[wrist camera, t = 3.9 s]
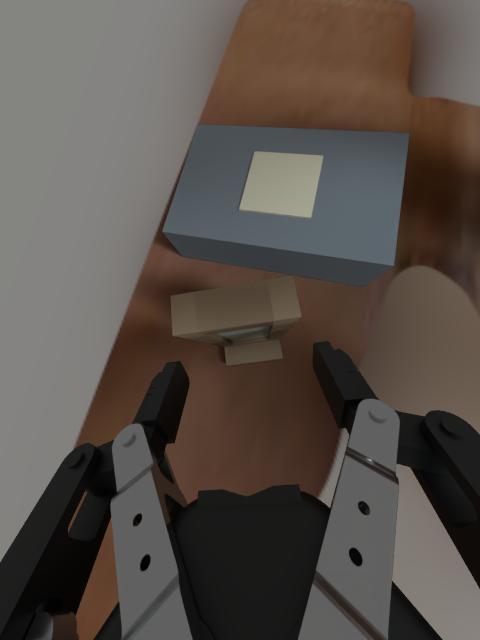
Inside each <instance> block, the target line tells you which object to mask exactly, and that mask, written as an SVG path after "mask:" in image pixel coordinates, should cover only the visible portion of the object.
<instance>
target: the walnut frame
mask: <svg viewBox="0 0 480 640" xmlns="http://www.w3.org/2000/svg"><path fill="white" fill-rule="evenodd" d="M170 297H171V315H172V333H173V336H176V337H180V338H185V339H190V340H194V341H199V342H204V343H208V344H213V345H217V346H222V347H224V349H225V358H226V366H229V365H236V364H244V363H252V362H260V361H268V360H276V359H283V355H282V349H281V343H280V339H281V338H282V337H283V336H284V334H285V333H286V332H287V331H288V330H289V329H290V328H291V327H292V326H293V325H294V324H295V323H296V322H297V321H298V320H299V319H300V318H301V317H302V316H301V311H300V306H299V301H298V296H297V291H296V286H295V281H294V276H293V275H290V276H284V277H278V278H272V279H267V280H261V281H255V282H249V283H243V284H237V285H231V286H225V287H219V288H214V289H208V290H202V291H196V292H190V293H184V294H178V295H172V296H170Z"/></svg>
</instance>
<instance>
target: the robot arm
mask: <svg viewBox="0 0 480 640" xmlns="http://www.w3.org/2000/svg"><path fill="white" fill-rule="evenodd" d="M313 368H314V371H315V374H316V376H317V379H318V381H319V383H320V386H321V388H322V390H323V393H324V395H325V397H326V400H327V402H328V404H329V407H330V409H331V411H332V414H333V416H334V418H335V421H336V423H337V425H338V428H339V429H341V428H346V429H347V431H348V433H349V435H350V436H349V440H348V443H347V447H346V451H345V455H344V459H343V462H342V466H341V470H340V474H339V478H338V481H337V485H336V488H335V492H334V496H333V500H332V503H331V507H330V508H329V507H328V506H327V505H326V504H324V503H323V502H322V501H320V500H319V499H317V498H316V497H314V496H312V495H310V494H308V493H305V492H302V491H300V488H299V484H296V485H281V486H272V487H270V488H267V489H265V490H263V491H260V492H258V493H256V494H253V495H251V496H243V495H239V494H236V493H233V492H229V491H226V490H223V489H221V490H205V491H199V492H198V499H196V500H194V501H193V502H191V503H189V504H187V501H186V499H185V497H184V495H183V494H182V492H181V490H180V489H179V487H178V484H177V482H176V479H175V476H174V473H173V471H172V468H171V465H170V462H169V460H168V457H167V454H166V452H165V448H166V444H170V443H175V439H176V435H177V431H178V428H179V424H180V420H181V416H182V412H183V408H184V405H185V401H186V397H187V393H188V389H189V377H188V375H187V373H186V371H185V369H184V367H183V365H182V363H181V362H180V361H176V362H169V363H166V365H165V367H164V369H163V371H162V372H159V373H158V374H157V375H156V377H155V378H154V379H153V380H152V382H151V384H150V387H149V390H148V391H147V393H146V396H145V397H144V399H143V402H142V404H141V406H140V408H139V410H138V412H137V414H136V417H135V419H134V421H133V423H132V424H131V425H129V426H127V427H125V428H124V429H123V430H122V431H121V432H120V433H119V434H118V435H117V436H116V438H115V440H112V441H110V442H108V443H105V444H103V445H101V446H99V447H95V446H94V445H92V444H90V443H86V444H83V445H80V446H78V447H77V448H75V449H74V450H73V451H72V452H71V453H69V455H68V456H67V457H66V458H65V459H64V461H63V462H62V464H61V465H60V467H59V468H58V470H57V472H56V473H55V475H54V477H53V478H52V480H51V481H50V483H49V485H48V486H47V488H46V489H45V491H44V493H43V494H42V496H41V498H40V499H39V501H38V502H37V504H36V506H35V507H34V509H33V511H32V512H31V514H30V515H29V517H28V519H27V520H26V522H25V524H24V525H23V527H22V528H21V530H20V531H19V533H18V535H17V536H16V538H15V540H14V541H13V543H12V545H11V546H10V548H9V549H8V551H7V553H6V554H5V556H4V557H3V559H2V561H1V562H0V640H79V635H78V633H77V620H76V617H75V616H76V613H77V610H78V608H79V605H80V602H81V599H82V596H83V594H84V591H85V588H86V585H87V582H88V580H89V577H90V574H91V571H92V569H93V566H94V563H95V560H96V557H97V555H98V552H99V549H100V546H101V543H102V541H103V538H104V535H105V532H106V530H107V527H108V524H109V521H110V518H112V528H113V539H114V550H115V560H116V571H117V582H118V592H119V602H118V603H117V605H116V606H115V608H114V609H113V611H112V612H111V614H110V615H109V617H108V618H107V620H106V621H105V623H104V625H103V626H102V628H101V629H100V631H99V632H98V634H97V635H96V637H95V638H94V640H442V638H441V637H440V636H439V635H438V634H437V633H436V631H435V630H434V629H433V628H432V627H431V626H430V624H429V623H428V622H427V621H426V620H425V619H424V617H423V616H422V615H421V614H420V613H419V612H418V610H417V609H416V608H415V607H414V606H413V605H412V603H411V602H410V601H409V600H408V599H407V597H406V596H405V595H404V594H403V593H402V592H401V590H400V589H399V588H398V587H397V586H396V585H395V583H393V581H392V572H393V559H394V545H395V532H396V519H397V506H398V493H399V482H398V478H397V477H396V463H397V464H401V465H404V466H408V467H410V468H411V469H412V471H413V473H414V475H415V476H416V478H417V480H418V482H419V483H420V485H421V487H422V489H423V490H424V492H425V494H426V496H427V497H428V499H429V501H430V503H431V504H432V506H433V508H434V510H435V511H436V513H437V515H438V517H439V518H440V520H441V522H442V523H443V525H444V527H445V529H446V530H447V532H448V534H449V536H450V538H451V539H452V541H453V543H454V545H455V546H456V548H457V550H458V552H459V553H460V555H461V557H462V559H463V560H464V562H465V564H466V566H467V567H468V569H469V571H470V572H471V574H472V576H473V577H474V579H475V581H476V582H477V585H478V586H479V588H480V435H479V434H478V432H477V431H476V430H475V429H474V428H473V427H472V426H471V425H470V424H468V423H467V422H466V421H464V420H463V419H461V418H460V417H458V416H456V415H454V414H451V413H448V412H445V411H440V410H435V411H430V412H429V413H427V414H426V416H425V417H424V416H419V415H414V414H408V413H403V412H399V411H396V410H393V409H392V408H391V407H390V406H388V405H387V404H386V403H384V402H382V401H380V400H379V399H378V398H377V397H376V396H375V394H374V393H373V391H372V390H371V388H370V387H369V385H368V384H367V382H366V381H365V379H364V378H363V376H362V375H361V373H360V372H359V371H358V369H357V368H356V366H355V365H354V364H353V362H352V360H351V359H350V357H349V356H348V355H347V354H346V353H344V352H343V351H342V350H340V349H337V350H334V349H333V348H332V346H331V345H330V343H329V342H328V341H326V342H318V343H314V344H313ZM84 492H87V494H86V496H85V499H84V501H83V503H82V505H81V507H80V509H79V511H78V513H77V516H76V518H75V520H74V522H73V524H72V526H71V528H70V531H69V533H68V527H69V524H70V521H71V519H72V517H73V515H74V513H75V511H76V509H77V507H78V505H79V503H80V500H81V498H82V496H83V494H84Z"/></svg>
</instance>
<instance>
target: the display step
mask: <svg viewBox="0 0 480 640" xmlns="http://www.w3.org/2000/svg"><path fill="white" fill-rule="evenodd" d="M409 134H410V133H401V132H377V131H352V130H328V129H303V128H279V127H255V126H230V125H206V124H198V126H197V129H196V132H195V135H194V138H193V141H192V144H191V147H190V150H189V153H188V156H187V159H186V162H185V165H184V168H183V171H182V174H181V177H180V180H179V183H178V186H177V189H176V192H175V195H174V198H173V201H172V204H171V207H170V210H169V213H168V216H167V219H166V222H165V224H164V227H163V230H162V232H163V233H164V235H165V236H166V237H167V238H168V239H169V241H170V242H171V243H172V244H173V246H174V247H175V248H176V249H177V250H178V252H179V253H180V254H181V255H182V256H183V257H189V258H195V259H201V260H207V261H213V262H219V263H225V264H231V265H236V266H242V267H248V268H254V269H260V270H266V271H272V272H278V273H284V274H290V275H296V276H302V277H308V278H314V279H320V280H326V281H332V282H337V283H343V284H349V285H355V286H361V287H364V286H365V285H367V284H368V283H370V282H371V281H373V280H374V279H375V278H377V277H378V276H380V275H381V274H383V273H384V272H386V271H387V270H388V269H390V268H391V267H393V266H394V260H395V251H396V243H397V234H398V226H399V218H400V209H401V201H402V193H403V184H404V176H405V168H406V159H407V151H408V143H409Z"/></svg>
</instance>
